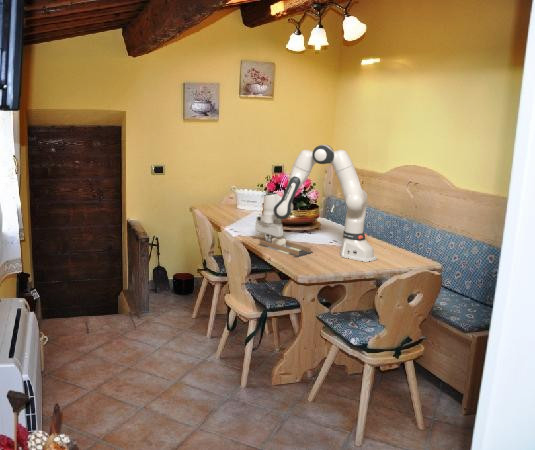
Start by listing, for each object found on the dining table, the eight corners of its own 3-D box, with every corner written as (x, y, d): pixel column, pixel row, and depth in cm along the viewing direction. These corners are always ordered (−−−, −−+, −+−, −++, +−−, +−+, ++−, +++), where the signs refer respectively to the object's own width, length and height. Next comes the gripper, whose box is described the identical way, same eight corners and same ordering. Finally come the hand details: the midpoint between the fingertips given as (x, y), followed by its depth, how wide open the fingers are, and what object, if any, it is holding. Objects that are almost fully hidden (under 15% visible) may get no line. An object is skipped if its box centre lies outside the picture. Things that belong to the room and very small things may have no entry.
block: (285, 246, 327) (286, 239, 326) (279, 248, 322) (279, 240, 321) (278, 244, 330) (278, 237, 329) (271, 245, 326) (272, 238, 325)
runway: (312, 253, 319) (313, 247, 318) (295, 257, 308) (295, 251, 307) (275, 242, 339) (275, 236, 338) (257, 246, 327) (257, 240, 326)
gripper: (286, 221, 324) (284, 244, 327) (261, 215, 337) (260, 236, 340) (279, 223, 319) (277, 245, 323) (254, 216, 333) (253, 238, 336)
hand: (268, 241), depth 332 cm, fingers closed
